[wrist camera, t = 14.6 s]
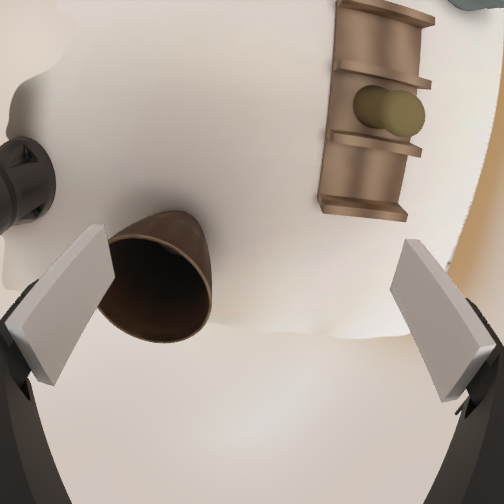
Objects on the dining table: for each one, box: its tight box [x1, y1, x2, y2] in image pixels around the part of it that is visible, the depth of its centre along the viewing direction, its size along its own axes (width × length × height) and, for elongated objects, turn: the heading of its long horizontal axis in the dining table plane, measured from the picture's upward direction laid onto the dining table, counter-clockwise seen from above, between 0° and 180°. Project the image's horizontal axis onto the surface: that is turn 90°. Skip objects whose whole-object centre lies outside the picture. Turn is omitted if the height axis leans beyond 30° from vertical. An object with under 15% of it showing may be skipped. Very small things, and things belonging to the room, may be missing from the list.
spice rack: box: [317, 0, 435, 222], centre depth 34 cm, size 12×29×5 cm, turn 177°
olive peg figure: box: [353, 85, 425, 138], centre depth 31 cm, size 6×6×11 cm
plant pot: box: [97, 211, 212, 343], centre depth 40 cm, size 15×15×16 cm
